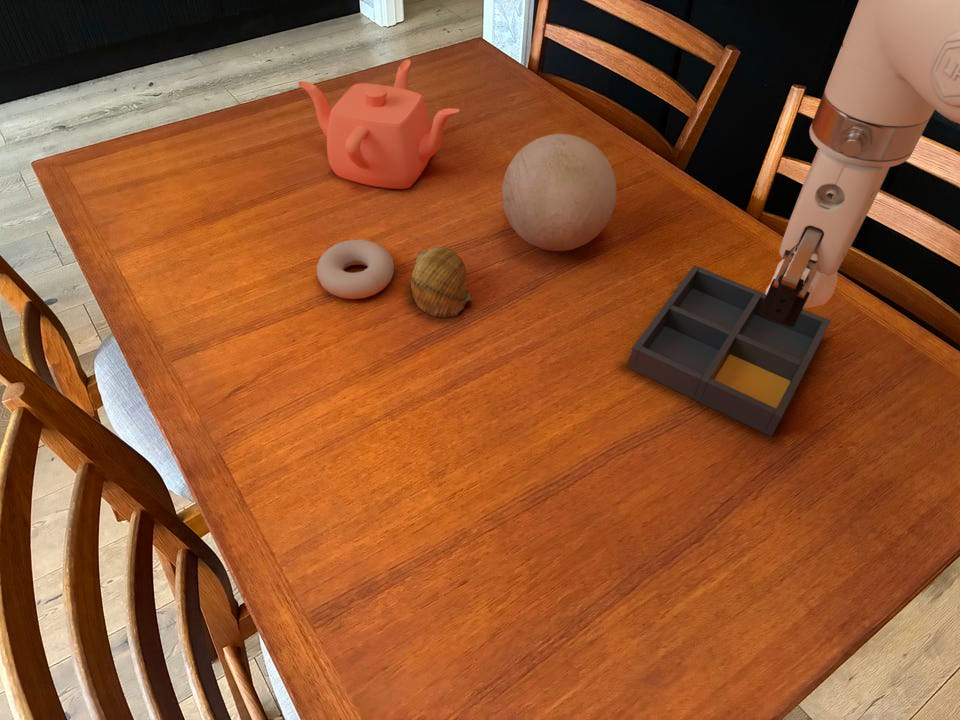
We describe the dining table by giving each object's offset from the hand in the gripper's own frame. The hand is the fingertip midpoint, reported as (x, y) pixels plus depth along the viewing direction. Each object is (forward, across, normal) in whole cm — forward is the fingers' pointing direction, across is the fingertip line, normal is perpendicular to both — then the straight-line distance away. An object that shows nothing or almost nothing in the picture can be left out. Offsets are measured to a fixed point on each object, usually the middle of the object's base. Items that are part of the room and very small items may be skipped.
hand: (790, 295), depth 68 cm
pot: (+18, +16, +63) cm, 68 cm away
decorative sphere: (+18, +15, +32) cm, 40 cm away
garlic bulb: (+1, 0, 0) cm, 1 cm away
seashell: (+18, -3, +38) cm, 43 cm away
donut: (+18, -7, +50) cm, 53 cm away
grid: (+18, +7, +4) cm, 20 cm away
